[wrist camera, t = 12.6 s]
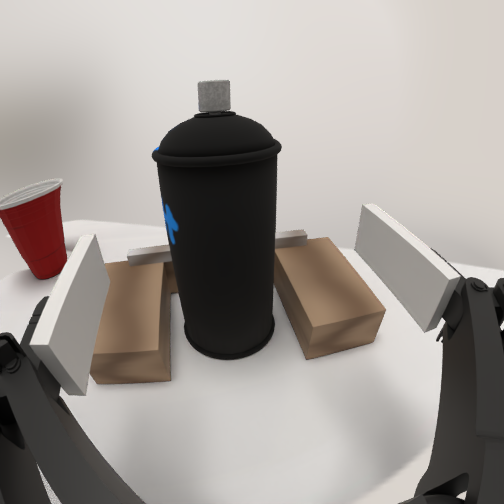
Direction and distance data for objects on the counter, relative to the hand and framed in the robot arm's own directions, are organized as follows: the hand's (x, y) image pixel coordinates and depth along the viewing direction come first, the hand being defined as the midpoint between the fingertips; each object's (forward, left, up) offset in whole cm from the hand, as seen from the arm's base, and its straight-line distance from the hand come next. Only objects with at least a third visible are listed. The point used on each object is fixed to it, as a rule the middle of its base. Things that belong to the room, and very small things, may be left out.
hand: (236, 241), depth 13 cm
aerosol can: (0, +7, -13) cm, 14 cm away
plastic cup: (-24, +21, -13) cm, 34 cm away
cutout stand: (0, +7, -13) cm, 15 cm away
